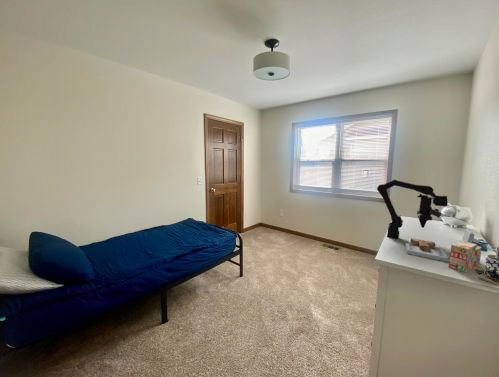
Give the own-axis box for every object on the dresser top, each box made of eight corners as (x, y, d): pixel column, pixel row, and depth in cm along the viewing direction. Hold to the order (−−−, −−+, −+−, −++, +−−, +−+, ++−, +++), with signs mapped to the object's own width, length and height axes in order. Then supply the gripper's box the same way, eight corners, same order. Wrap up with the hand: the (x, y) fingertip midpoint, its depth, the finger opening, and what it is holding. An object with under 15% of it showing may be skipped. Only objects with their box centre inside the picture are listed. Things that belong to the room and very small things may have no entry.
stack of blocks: (463, 258, 117) (466, 237, 116) (479, 263, 112) (483, 241, 111) (448, 267, 107) (451, 244, 106) (464, 273, 102) (468, 248, 100)
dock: (406, 253, 123) (407, 250, 123) (405, 246, 134) (405, 243, 134) (448, 261, 113) (448, 258, 113) (443, 253, 124) (443, 250, 124)
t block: (411, 248, 131) (412, 243, 131) (410, 242, 141) (410, 238, 141) (437, 253, 124) (437, 248, 124) (433, 246, 134) (434, 242, 134)
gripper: (444, 208, 127) (441, 233, 129) (439, 204, 143) (436, 226, 144) (421, 206, 134) (418, 230, 135) (418, 202, 149) (415, 223, 151)
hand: (422, 227), depth 141 cm, fingers closed
